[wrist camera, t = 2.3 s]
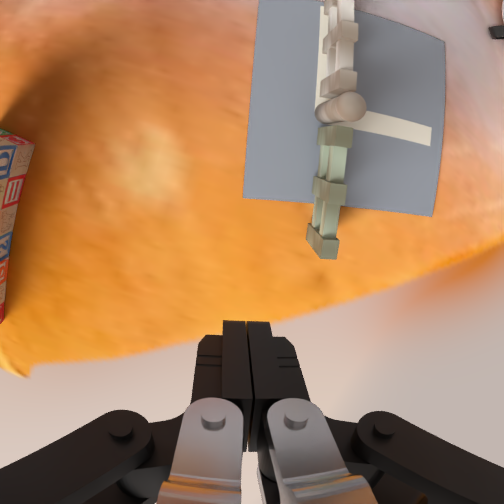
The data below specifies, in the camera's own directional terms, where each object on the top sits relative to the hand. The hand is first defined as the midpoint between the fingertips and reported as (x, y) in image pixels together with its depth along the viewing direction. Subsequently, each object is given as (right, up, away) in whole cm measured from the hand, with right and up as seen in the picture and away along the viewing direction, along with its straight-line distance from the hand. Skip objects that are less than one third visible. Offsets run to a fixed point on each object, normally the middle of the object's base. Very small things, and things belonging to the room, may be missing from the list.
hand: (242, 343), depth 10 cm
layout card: (+9, +15, +13) cm, 22 cm away
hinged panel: (+6, +8, +14) cm, 18 cm away
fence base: (+6, +18, +11) cm, 23 cm away
